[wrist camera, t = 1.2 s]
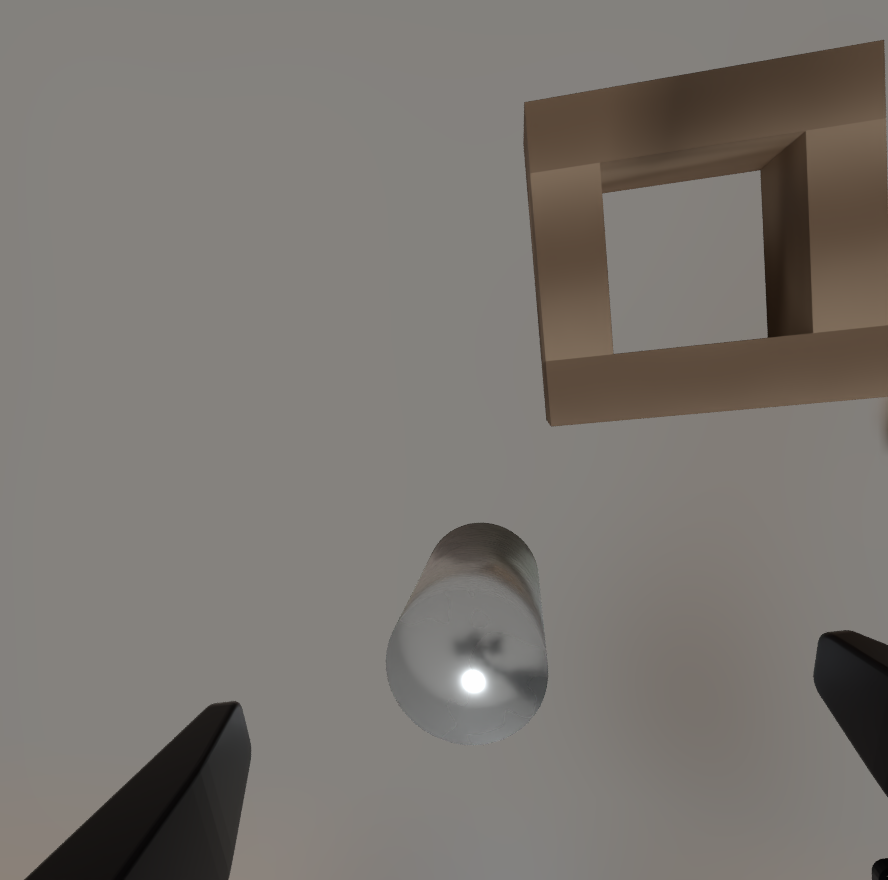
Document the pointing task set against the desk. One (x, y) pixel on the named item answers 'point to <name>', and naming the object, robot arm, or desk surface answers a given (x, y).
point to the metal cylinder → (472, 639)
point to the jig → (784, 230)
